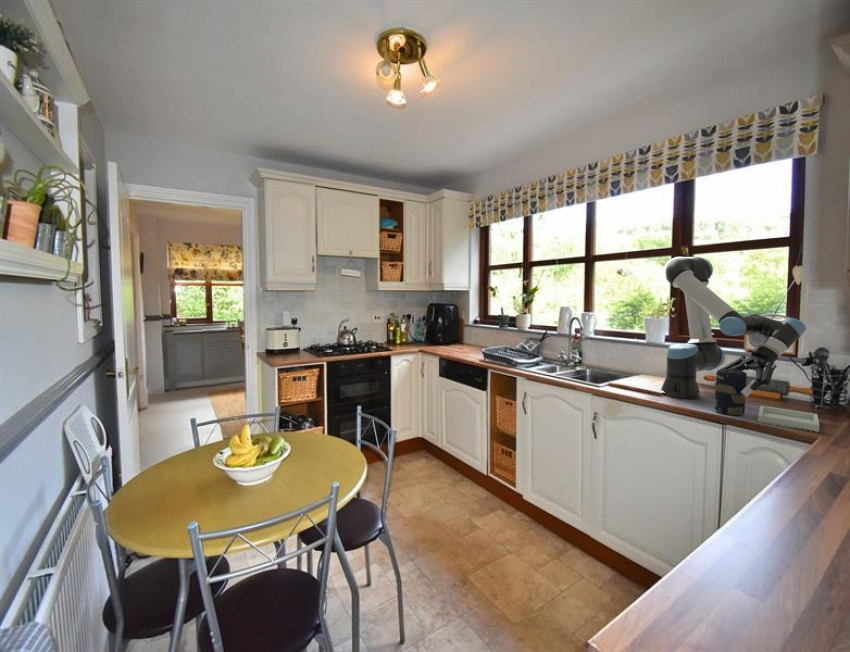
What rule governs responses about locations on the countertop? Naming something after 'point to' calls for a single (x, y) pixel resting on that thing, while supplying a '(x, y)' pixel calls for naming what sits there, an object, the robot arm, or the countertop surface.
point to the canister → (730, 391)
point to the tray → (789, 418)
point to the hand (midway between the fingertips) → (728, 390)
